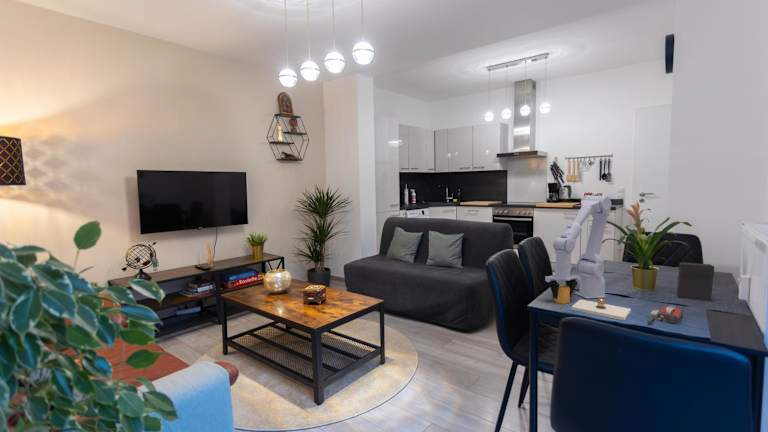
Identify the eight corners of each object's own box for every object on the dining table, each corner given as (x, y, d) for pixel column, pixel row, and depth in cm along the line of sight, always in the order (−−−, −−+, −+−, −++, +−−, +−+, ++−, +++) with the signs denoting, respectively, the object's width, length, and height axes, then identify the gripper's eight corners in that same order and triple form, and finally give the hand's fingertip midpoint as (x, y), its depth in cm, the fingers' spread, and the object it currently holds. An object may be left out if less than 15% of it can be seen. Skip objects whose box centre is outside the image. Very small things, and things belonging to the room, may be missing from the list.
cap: (563, 298, 163) (564, 284, 162) (572, 303, 157) (572, 287, 156) (551, 299, 162) (552, 284, 161) (559, 303, 156) (560, 288, 156)
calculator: (708, 298, 161) (710, 264, 160) (711, 301, 157) (714, 266, 156) (676, 295, 166) (678, 261, 164) (679, 298, 162) (681, 263, 160)
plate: (571, 309, 149) (571, 298, 149) (580, 302, 158) (580, 291, 158) (624, 320, 137) (625, 308, 137) (630, 311, 146) (631, 300, 146)
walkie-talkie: (655, 310, 148) (645, 325, 134) (656, 299, 148) (645, 313, 134) (683, 316, 142) (676, 331, 128) (684, 304, 142) (676, 319, 128)
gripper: (552, 268, 153) (551, 301, 154) (585, 267, 155) (583, 299, 156) (542, 264, 160) (541, 296, 161) (574, 263, 162) (573, 294, 163)
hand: (561, 297), depth 159 cm, fingers closed on cap, 6 cm apart
